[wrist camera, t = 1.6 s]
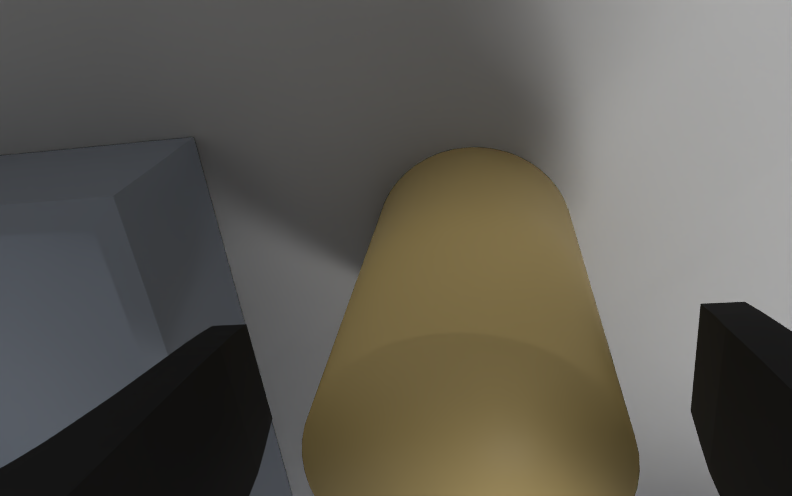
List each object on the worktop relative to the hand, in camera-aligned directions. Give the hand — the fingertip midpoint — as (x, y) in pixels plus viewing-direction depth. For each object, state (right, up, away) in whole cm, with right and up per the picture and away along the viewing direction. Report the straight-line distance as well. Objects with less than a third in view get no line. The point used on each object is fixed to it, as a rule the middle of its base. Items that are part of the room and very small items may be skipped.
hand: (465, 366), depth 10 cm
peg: (+1, +2, +4) cm, 5 cm away
